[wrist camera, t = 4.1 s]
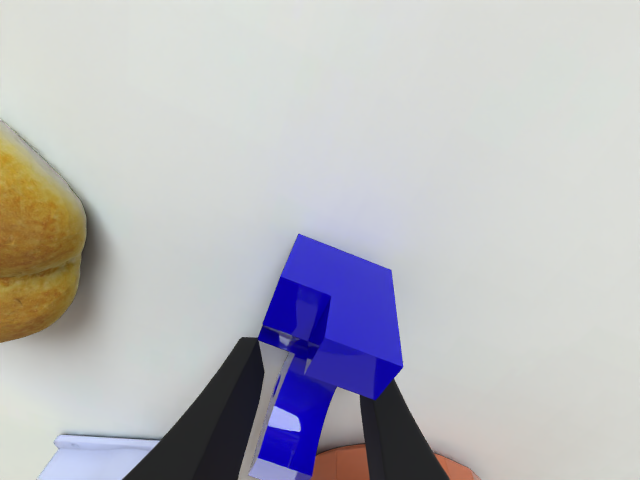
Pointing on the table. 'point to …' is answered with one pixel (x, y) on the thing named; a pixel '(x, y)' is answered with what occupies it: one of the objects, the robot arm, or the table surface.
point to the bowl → (352, 467)
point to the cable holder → (323, 349)
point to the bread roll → (35, 240)
